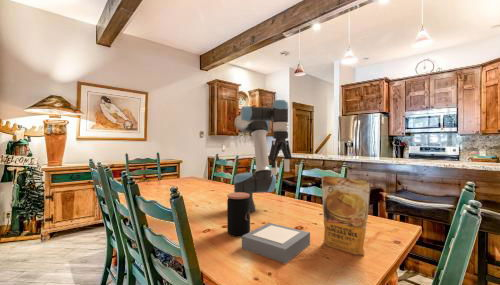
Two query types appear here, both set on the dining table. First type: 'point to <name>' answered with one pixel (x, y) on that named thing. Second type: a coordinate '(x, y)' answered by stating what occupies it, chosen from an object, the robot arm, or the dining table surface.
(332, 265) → the dining table surface
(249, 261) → the dining table surface
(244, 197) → the coffee jar
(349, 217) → the pancake mix bag
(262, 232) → the stand
